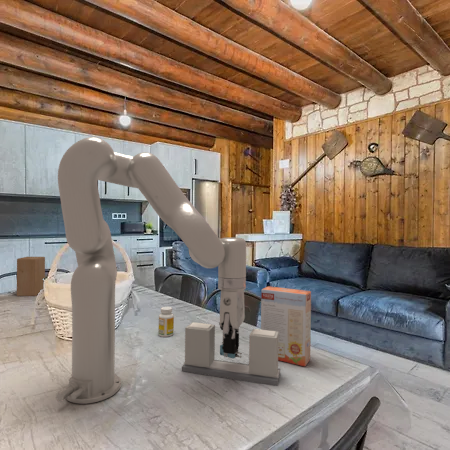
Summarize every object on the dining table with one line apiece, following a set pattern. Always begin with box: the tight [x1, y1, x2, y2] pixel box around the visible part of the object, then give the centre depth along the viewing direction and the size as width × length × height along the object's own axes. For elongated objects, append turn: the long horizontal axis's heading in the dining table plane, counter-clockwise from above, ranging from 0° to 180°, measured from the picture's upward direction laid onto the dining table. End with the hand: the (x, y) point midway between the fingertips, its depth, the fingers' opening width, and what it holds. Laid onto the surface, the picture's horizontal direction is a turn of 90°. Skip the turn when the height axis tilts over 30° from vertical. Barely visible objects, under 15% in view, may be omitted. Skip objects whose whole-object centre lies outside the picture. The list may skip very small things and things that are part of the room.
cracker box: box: [260, 285, 312, 367], centre depth 95 cm, size 14×6×21 cm, turn 59°
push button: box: [218, 321, 243, 359], centre depth 85 cm, size 7×5×10 cm
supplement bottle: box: [158, 306, 175, 338], centre depth 113 cm, size 5×5×10 cm
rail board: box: [181, 321, 281, 387], centre depth 86 cm, size 7×26×12 cm, turn 74°
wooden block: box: [16, 256, 46, 297], centre depth 171 cm, size 10×10×20 cm
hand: (231, 349), depth 86 cm, fingers closed on push button, 3 cm apart
